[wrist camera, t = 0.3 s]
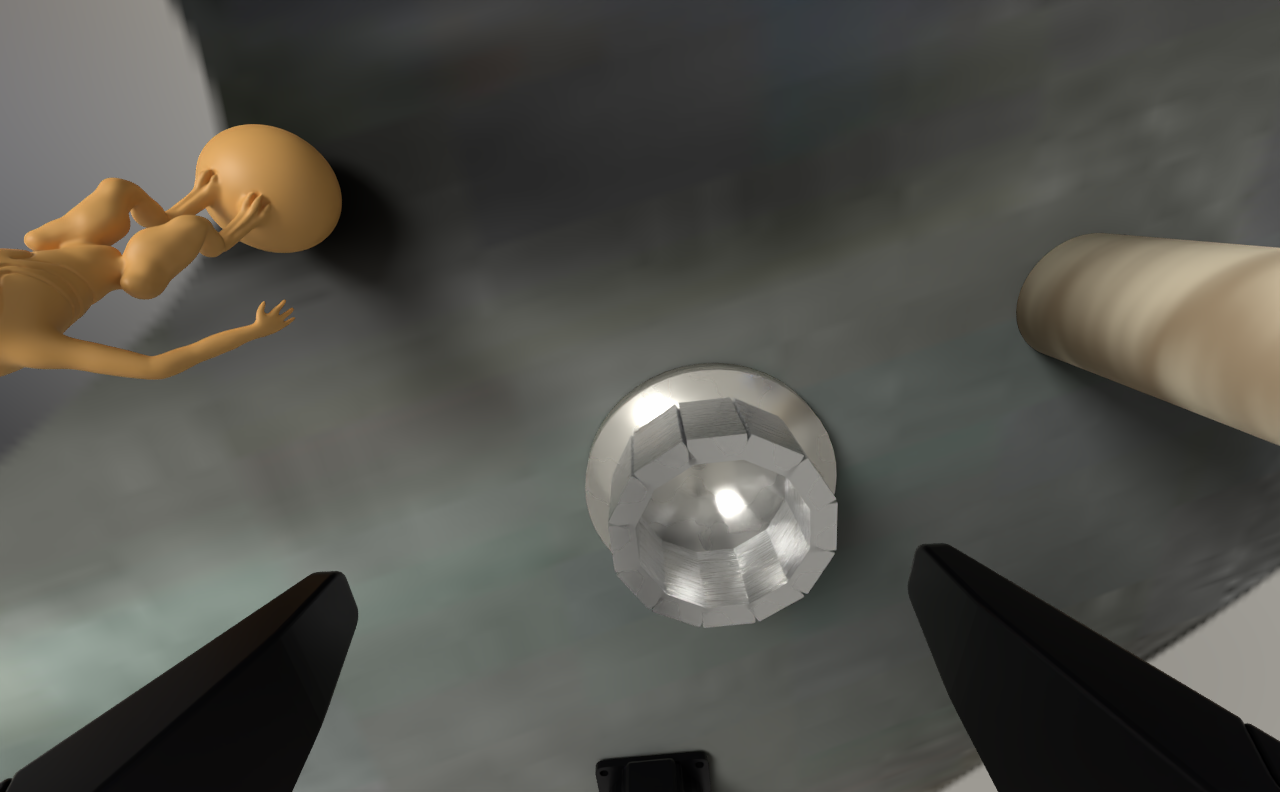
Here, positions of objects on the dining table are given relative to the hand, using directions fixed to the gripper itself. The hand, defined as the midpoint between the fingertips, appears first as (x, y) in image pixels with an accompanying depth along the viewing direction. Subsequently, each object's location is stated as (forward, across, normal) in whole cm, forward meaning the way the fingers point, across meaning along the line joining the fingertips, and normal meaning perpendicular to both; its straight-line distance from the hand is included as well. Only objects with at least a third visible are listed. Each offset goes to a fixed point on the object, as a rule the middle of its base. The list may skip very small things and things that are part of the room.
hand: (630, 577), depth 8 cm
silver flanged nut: (+14, -3, +8) cm, 16 cm away
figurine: (+15, +12, -4) cm, 20 cm away
